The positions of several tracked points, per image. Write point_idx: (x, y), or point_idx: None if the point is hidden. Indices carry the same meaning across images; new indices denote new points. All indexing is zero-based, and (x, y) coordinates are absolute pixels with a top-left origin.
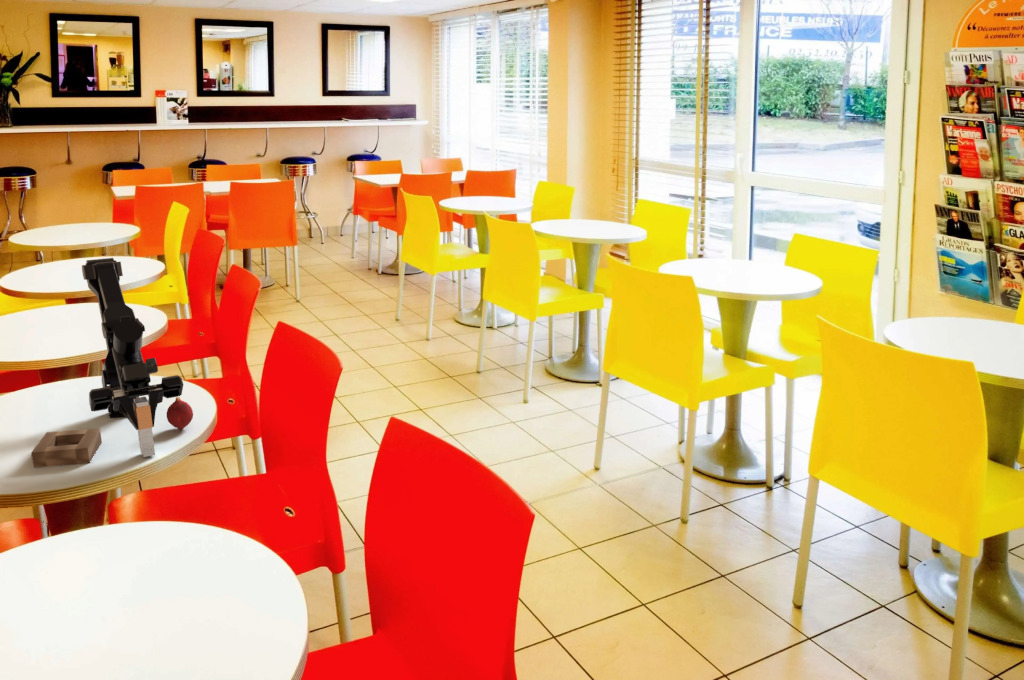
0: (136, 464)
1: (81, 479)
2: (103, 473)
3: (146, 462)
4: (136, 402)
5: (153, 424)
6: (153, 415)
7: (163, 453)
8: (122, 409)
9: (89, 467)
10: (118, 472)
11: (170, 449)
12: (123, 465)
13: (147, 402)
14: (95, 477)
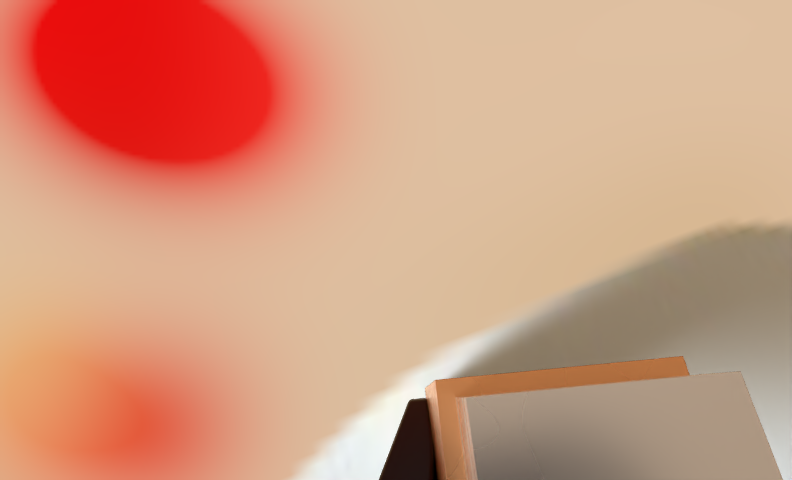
0: (522, 338)
1: (770, 273)
2: (675, 298)
3: (473, 341)
4: (753, 444)
5: (415, 401)
6: (400, 468)
7: (381, 429)
8: None
9: (775, 416)
10: (602, 278)
11: (337, 475)
12: (588, 356)
13: (483, 397)
14: (705, 267)
